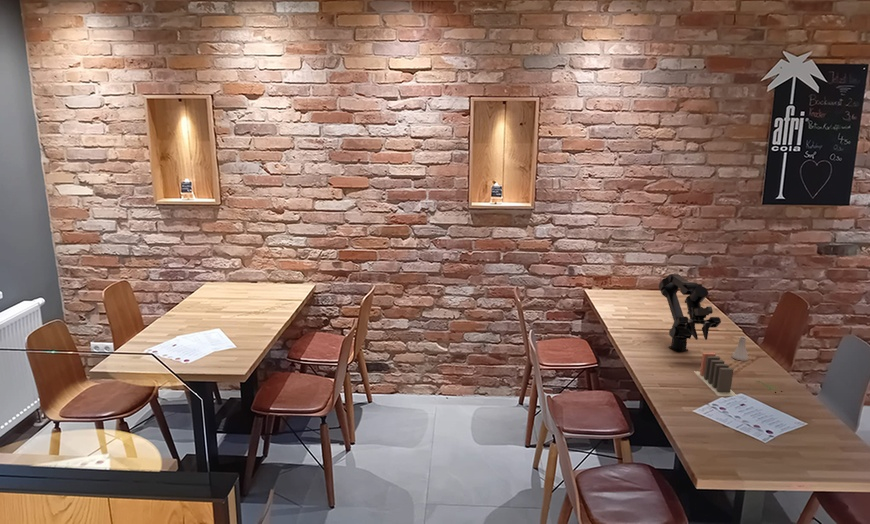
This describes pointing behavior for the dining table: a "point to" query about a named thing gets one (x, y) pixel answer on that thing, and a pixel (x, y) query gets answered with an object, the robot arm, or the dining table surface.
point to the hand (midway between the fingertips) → (701, 339)
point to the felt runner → (715, 388)
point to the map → (768, 386)
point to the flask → (741, 350)
